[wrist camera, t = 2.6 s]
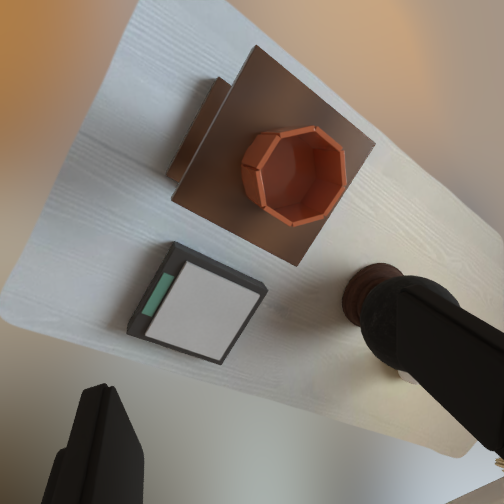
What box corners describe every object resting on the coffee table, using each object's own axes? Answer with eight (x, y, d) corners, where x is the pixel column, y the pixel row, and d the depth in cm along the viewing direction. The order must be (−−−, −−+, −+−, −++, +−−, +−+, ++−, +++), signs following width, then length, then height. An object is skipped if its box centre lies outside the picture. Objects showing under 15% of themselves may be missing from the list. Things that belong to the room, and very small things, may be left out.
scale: (127, 324, 43) (125, 336, 41) (174, 240, 41) (175, 248, 38) (218, 355, 49) (222, 368, 46) (263, 283, 47) (270, 292, 44)
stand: (165, 173, 38) (171, 200, 24) (216, 78, 36) (256, 44, 22) (249, 220, 43) (297, 267, 28) (298, 138, 41) (376, 143, 27)
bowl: (249, 217, 26) (266, 234, 22) (233, 137, 23) (249, 139, 19) (319, 199, 27) (348, 212, 23) (311, 120, 24) (342, 119, 20)
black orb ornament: (332, 335, 54) (392, 405, 40) (341, 260, 49) (412, 310, 35) (400, 325, 57) (476, 386, 43) (415, 254, 52) (505, 297, 39)
